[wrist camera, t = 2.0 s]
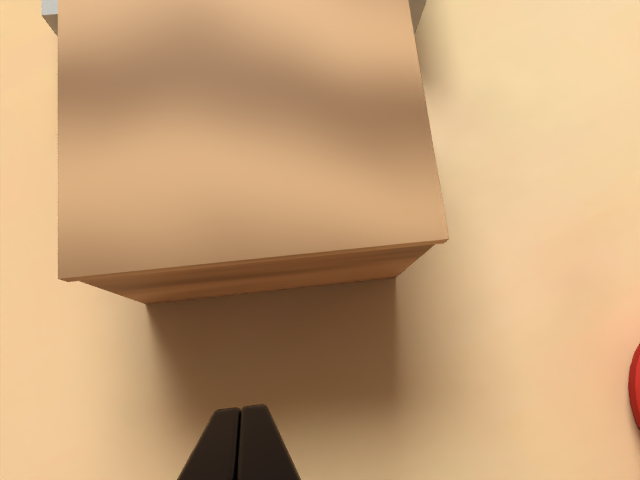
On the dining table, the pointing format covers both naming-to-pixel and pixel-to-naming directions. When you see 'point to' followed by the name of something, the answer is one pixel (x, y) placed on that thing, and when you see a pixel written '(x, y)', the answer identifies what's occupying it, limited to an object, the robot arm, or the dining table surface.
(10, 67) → the dining table surface
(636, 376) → the canned food
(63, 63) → the tea box
